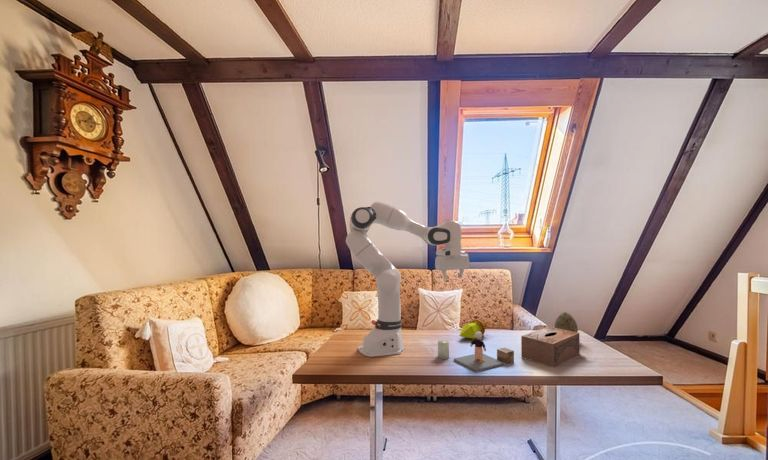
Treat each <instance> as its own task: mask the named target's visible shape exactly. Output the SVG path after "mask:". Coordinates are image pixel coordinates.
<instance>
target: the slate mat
mask: <svg viewBox="0 0 768 460" xmlns="http://www.w3.org/2000/svg"><path fill="white" fill-rule="evenodd" d="M483 359H484V360H485V362H482V363H481V362H479V361H474V360H475V353H473V354H469V355H464V356H460V357H459V356H458V357H455V358H453V362H455V363H457V364H459V365H461V366H463V367H465V368H467V369H469V370H470V371H473V372H475V373H478V371H479V372H482V370H483V371H486V370H485V369H487V370H489V368H491V369H494V368H493V367H495V368H498V367H497V366H499V367H502V366H501V365H503V366H505V364H504V362H501V361H499V360H497V358H494V357H492V356H489V355H487V354H484V353H483Z"/></svg>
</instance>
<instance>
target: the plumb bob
mask: <svg viewBox="0 0 768 460" xmlns="http://www.w3.org/2000/svg"><path fill="white" fill-rule="evenodd" d="M492 324H493V323H492V322H491V321H489V322H487V321H486V322H485V321H483V320H482V321H481V320H479V319H473V320H470V322H469V323H466V324H464V325H463V326H462V328H461V331H460V333H459V337H462V338H466V339H469V340H475V339H476V337H474V335H475V333H476V332H478V331H480V332H481V333H482V336H484V334H485V332H486V329H487V328H488V326H491V325H492Z"/></svg>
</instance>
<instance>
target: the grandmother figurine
mask: <svg viewBox="0 0 768 460" xmlns="http://www.w3.org/2000/svg"><path fill="white" fill-rule="evenodd" d="M474 337H476V338H474V339H472V340H471V342H470V347H471V348H472V347H473V346H474V354H475V360H474V361H479V362H481V363H482V362H485V360H484V359H483V354H484V352H487V347H486V345H485V343H484V341H483V340H482V337H483V335H482V333H481V332H480V331H478V332H476V333H475V335H474Z"/></svg>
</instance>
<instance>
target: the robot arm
mask: <svg viewBox="0 0 768 460" xmlns="http://www.w3.org/2000/svg"><path fill="white" fill-rule="evenodd" d="M374 224H379V225H382V226H383V227H386V228H389V229H391V230H396V231H404V232H406V233H407V232H408V233H410V234H413V235H415V236H417V237H419V238H420V239H422V240H423V241H424V242H425V243H426V245H429V246H440V245H443V248H441V249H438V250H437V251H436V252H435V255H436V256H435V263H434V268H435V270H436V271H439V272H440V271H441V274H442V277H443V280H448V278H449V276H448V275H447V274H446V273H447V271H455V270H457V271H459V273H458V274H457V278H458V279H462V278H463V274H464V271H465V270H468V269H469V268H470V265H471V264H470V257H469V253H468V251H462V227H461V223H460V222H459V221H456V220H450V219H447V220H445V221H444V222H442V223H440V224H439V225H436V226H425V225H423V224H421V223H418V222H415V221H413V220H412V219H411V218H410V217H409V216H408V215H407V213H406V212H404V211H403V210H402V209H400V208H397V207H396V206H394V205H390V204H388V203H383V202H379V201H375V202H373V203H371V205H370V206H365V207H363V206H362V207H361V206H359V207H358V208H356V209H354V210H353V211H352V213H351V215H350V218H349V228H350V232H349V233H348V234H347V235H346V237H345V243H346V245H347V246H348V247H347V248H348V249H349V251H350V252H351V253H352V254H353V256H354V257H355V258H356V259H357V260H358V262H359V263H360V264H361V265H362V266H363V268H364V269H365V270H366V271H368V273H370V274H371V275H372V276H373V277H374V278H375V279H376V294H377V304H378V306H377V308H378V309H377V310H378V313H377V315H378V317H377V319H376V320H374V319H372V320H371V322H370V323H371V324H372V325H374V328H373V329H371V330H370V331H369V332H368V333H367V334H365V336H364V337H363V340H362V345H360V346H358V348H357V349H358V352H359V353H360V354H361V355H363V356H366V357H369V358H371V357H373V358H374V357H382V356H392V355H399V354H401V353H402V352H403V351H404V349H405V347H404V343H403V342H404V341H403V336H402V328H403V327H402V324H403V323H402V317H401V315H402V313H401V308H402V306H401V305H402V303H401V283H402V274H401V272H400V271H399V270H398V268H397V267H395V266H394V264H393V263H392V262H391V261H390V260H389V259H387V257H386V256H385V255H384V254H383V253H382V252H381V251H380V250H379V249H378V247H377V246H376V245H375V244H374V242H372V240H371V239H370V238H369V236H368V234H367V233H368V231H369V230H370V228H371V226H372V225H374Z"/></svg>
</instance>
